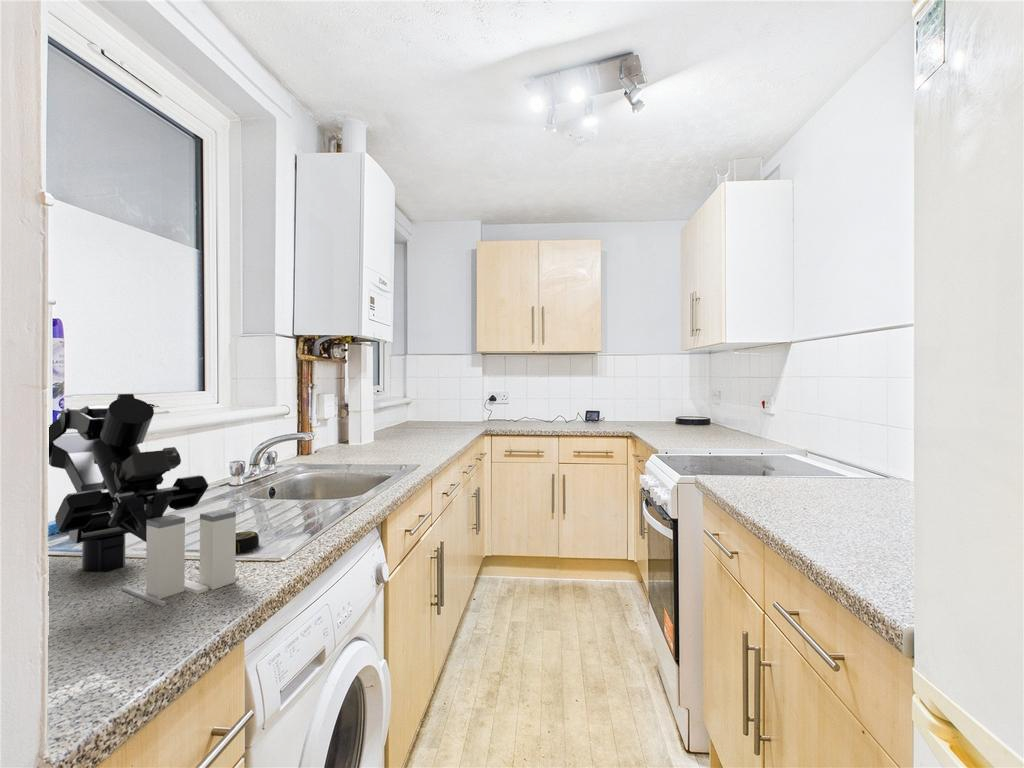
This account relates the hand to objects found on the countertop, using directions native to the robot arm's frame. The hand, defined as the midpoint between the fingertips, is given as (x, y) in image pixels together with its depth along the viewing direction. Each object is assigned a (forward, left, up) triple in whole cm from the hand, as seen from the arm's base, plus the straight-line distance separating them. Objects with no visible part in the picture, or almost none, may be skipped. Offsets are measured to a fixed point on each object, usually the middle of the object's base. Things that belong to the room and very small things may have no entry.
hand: (157, 544), depth 74 cm
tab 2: (+5, +6, -7) cm, 11 cm away
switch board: (0, +3, -8) cm, 8 cm away
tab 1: (+2, 0, -7) cm, 7 cm away
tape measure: (-9, +17, -8) cm, 21 cm away
